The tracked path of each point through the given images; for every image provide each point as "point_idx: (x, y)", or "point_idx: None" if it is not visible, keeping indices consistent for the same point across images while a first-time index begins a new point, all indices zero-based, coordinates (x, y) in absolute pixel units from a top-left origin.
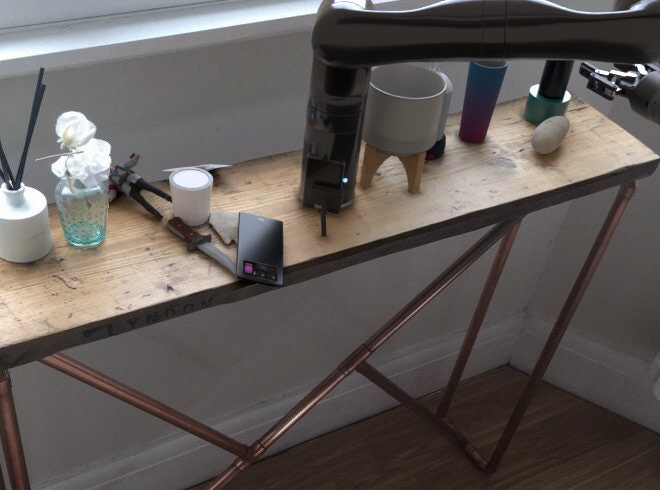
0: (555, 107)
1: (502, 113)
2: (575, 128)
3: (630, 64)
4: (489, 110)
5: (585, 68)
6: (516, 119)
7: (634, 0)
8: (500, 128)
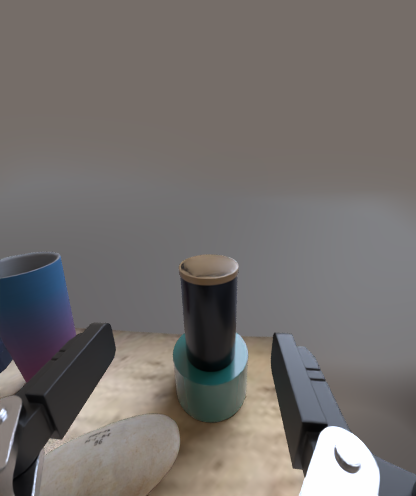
0: (190, 388)
1: (164, 349)
2: (239, 455)
3: (299, 428)
4: (17, 354)
5: (55, 354)
6: (165, 369)
7: None
8: (117, 378)
